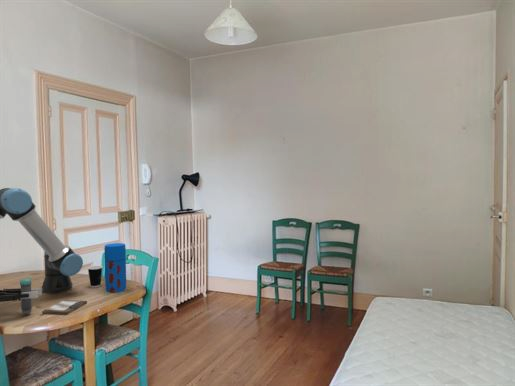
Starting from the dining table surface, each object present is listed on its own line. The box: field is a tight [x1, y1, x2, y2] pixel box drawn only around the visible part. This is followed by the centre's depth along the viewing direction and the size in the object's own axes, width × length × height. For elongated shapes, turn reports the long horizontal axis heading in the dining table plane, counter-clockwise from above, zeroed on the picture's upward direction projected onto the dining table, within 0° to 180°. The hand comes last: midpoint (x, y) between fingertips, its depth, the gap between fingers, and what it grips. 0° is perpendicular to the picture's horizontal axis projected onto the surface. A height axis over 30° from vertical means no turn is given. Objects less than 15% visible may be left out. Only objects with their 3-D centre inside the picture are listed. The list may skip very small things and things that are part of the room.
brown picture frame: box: [41, 299, 88, 316], centre depth 182 cm, size 16×12×2 cm
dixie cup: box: [87, 265, 103, 289], centre depth 218 cm, size 8×8×11 cm
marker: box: [19, 278, 33, 315], centre depth 173 cm, size 4×4×15 cm
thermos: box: [103, 242, 127, 294], centre depth 211 cm, size 11×11×25 cm
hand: (39, 293), depth 174 cm, fingers closed on marker, 4 cm apart
